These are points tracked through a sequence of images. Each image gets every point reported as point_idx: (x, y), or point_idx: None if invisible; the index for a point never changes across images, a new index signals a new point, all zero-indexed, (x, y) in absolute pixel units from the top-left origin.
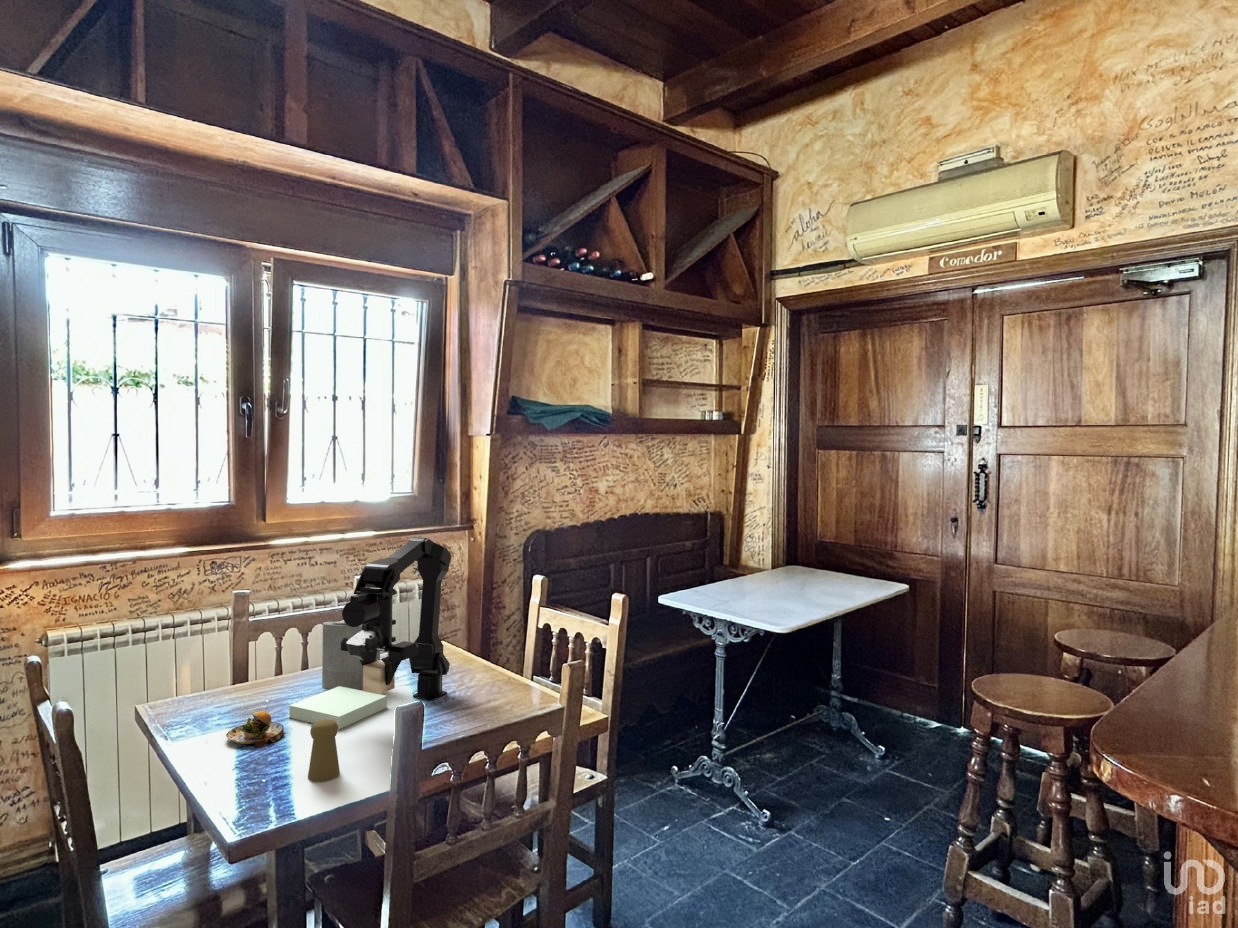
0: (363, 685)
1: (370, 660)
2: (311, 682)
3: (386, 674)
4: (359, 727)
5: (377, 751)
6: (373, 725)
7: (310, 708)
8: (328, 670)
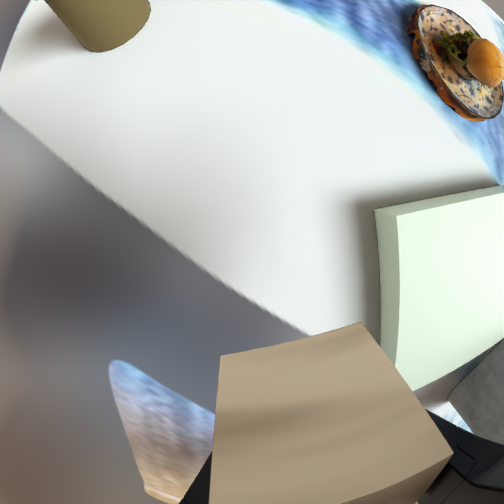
0: (371, 343)
1: (438, 497)
2: None
3: (208, 484)
4: (336, 261)
5: (117, 186)
6: (313, 299)
7: (490, 205)
8: None
